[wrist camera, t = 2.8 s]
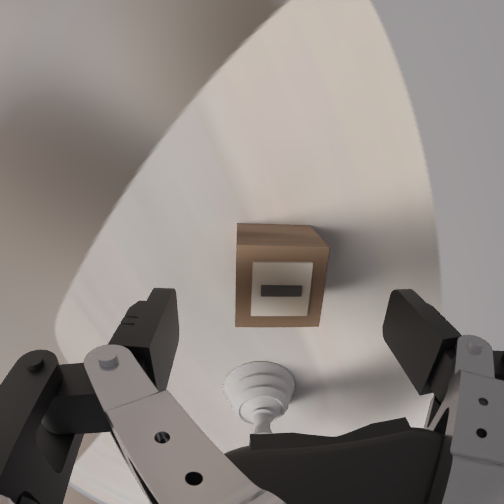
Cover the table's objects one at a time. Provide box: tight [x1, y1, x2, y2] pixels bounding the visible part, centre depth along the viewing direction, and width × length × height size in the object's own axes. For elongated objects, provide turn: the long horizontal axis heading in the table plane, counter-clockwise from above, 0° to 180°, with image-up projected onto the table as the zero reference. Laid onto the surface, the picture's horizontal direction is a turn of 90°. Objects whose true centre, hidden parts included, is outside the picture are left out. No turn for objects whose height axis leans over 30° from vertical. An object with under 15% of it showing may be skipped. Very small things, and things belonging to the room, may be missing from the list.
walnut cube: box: [235, 223, 329, 327], centre depth 16 cm, size 4×4×4 cm
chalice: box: [223, 362, 295, 443], centre depth 12 cm, size 7×7×18 cm
